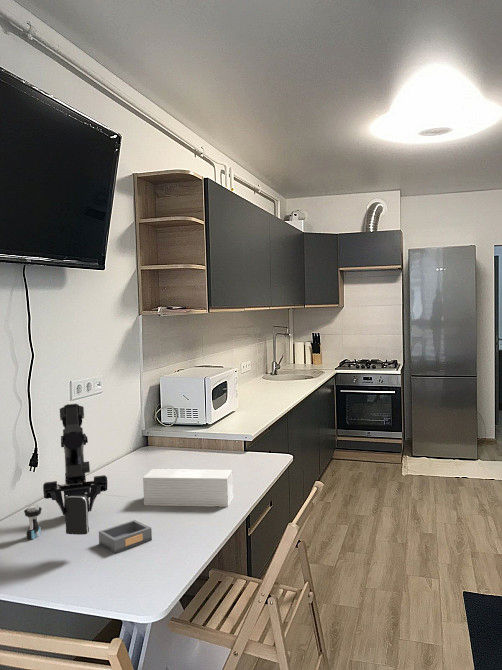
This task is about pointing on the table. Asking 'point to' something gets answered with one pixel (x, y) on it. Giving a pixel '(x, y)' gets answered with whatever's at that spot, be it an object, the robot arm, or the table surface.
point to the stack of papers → (188, 487)
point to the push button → (33, 521)
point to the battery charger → (76, 514)
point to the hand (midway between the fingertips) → (77, 512)
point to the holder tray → (125, 536)
